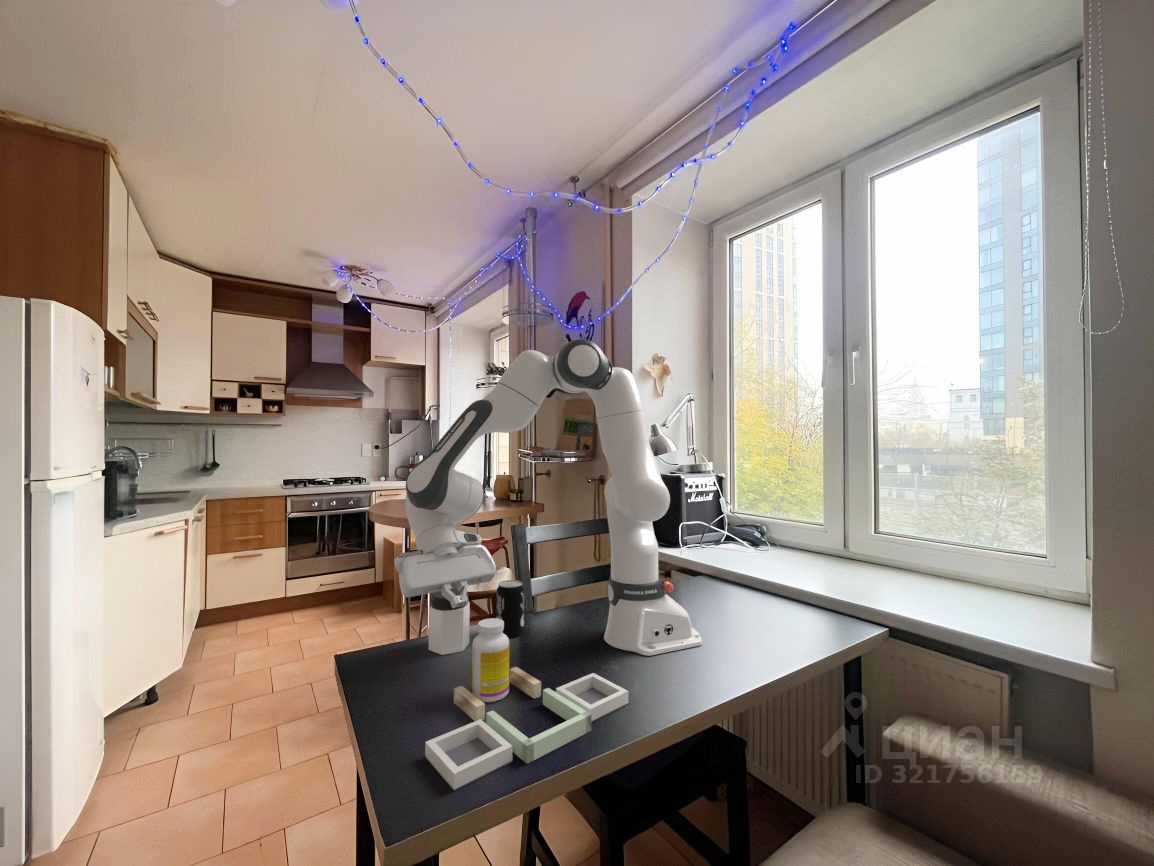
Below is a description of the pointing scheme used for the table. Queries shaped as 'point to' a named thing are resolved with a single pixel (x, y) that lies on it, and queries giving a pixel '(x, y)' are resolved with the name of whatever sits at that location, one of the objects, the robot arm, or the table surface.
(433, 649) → the jar
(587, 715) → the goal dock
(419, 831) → the table surface
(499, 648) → the supplement bottle
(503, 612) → the beverage can
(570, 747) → the table surface
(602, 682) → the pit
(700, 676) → the table surface
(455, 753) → the tray
